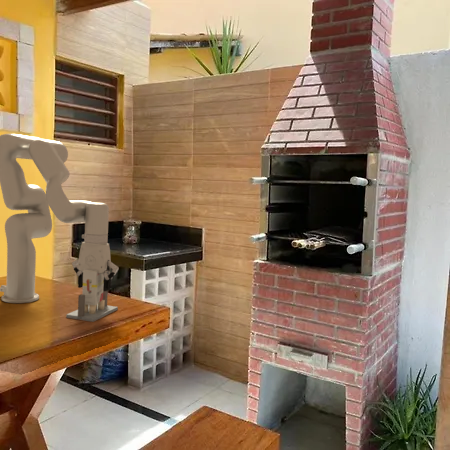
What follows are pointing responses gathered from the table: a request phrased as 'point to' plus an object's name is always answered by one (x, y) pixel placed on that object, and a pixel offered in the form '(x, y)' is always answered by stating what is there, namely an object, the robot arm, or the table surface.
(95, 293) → the ink box
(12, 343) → the table surface
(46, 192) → the robot arm
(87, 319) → the peg stand
